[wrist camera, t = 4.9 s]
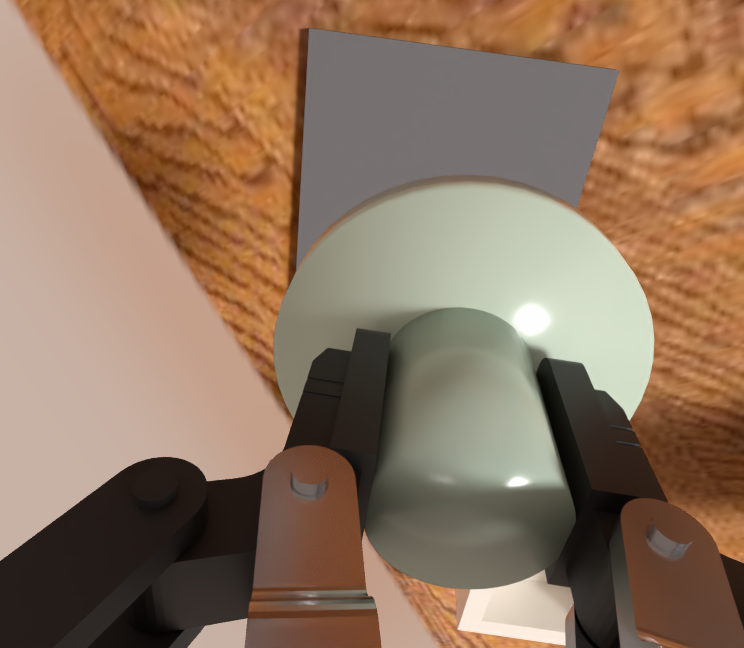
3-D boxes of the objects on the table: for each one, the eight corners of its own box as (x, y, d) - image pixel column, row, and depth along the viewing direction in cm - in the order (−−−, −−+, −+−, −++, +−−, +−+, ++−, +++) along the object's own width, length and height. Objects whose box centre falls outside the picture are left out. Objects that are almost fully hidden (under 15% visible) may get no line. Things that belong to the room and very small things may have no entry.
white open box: (483, 471, 32) (491, 527, 28) (637, 493, 32) (663, 552, 28) (453, 570, 36) (457, 629, 33) (588, 590, 36) (606, 651, 33)
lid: (291, 146, 11) (198, 242, 6) (700, 207, 11) (888, 345, 6) (277, 448, 15) (215, 630, 10) (572, 494, 15) (632, 698, 10)
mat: (310, 28, 21) (309, 28, 21) (615, 69, 21) (619, 70, 21) (295, 299, 27) (294, 303, 27) (534, 333, 27) (536, 337, 27)
